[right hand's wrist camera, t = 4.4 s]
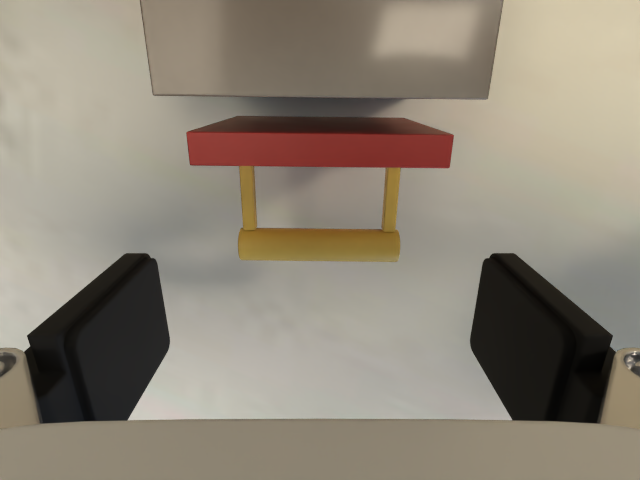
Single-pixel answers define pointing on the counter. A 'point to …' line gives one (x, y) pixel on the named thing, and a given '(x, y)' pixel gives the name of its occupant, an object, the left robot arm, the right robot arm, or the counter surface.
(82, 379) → the right robot arm
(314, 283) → the counter surface
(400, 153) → the drawer
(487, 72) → the cabinet
